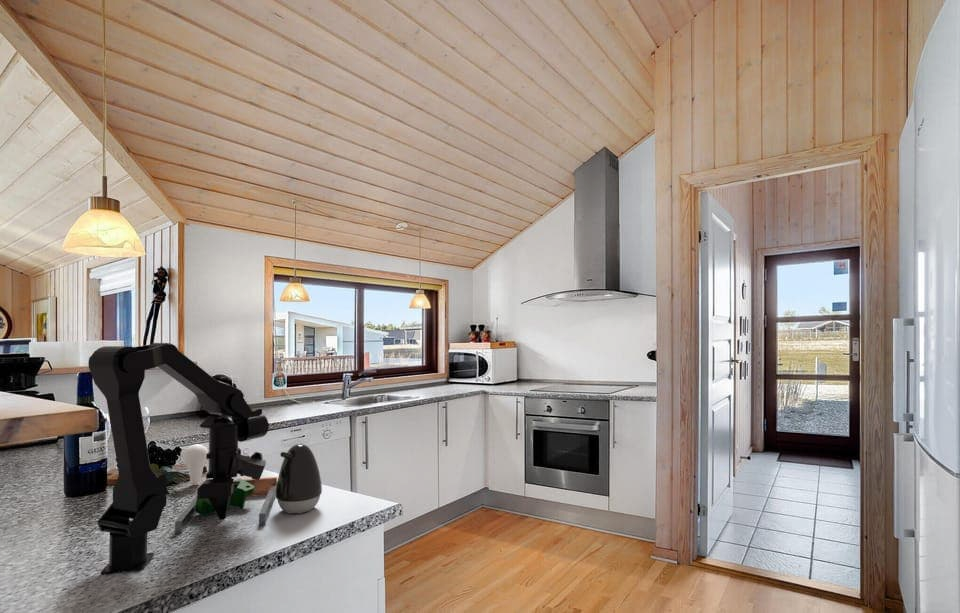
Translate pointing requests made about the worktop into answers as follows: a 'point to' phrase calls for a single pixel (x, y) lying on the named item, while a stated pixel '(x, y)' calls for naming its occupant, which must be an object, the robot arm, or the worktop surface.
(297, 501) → the pump dispenser
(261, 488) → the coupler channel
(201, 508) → the clamp
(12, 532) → the worktop surface
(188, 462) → the lightbulb
